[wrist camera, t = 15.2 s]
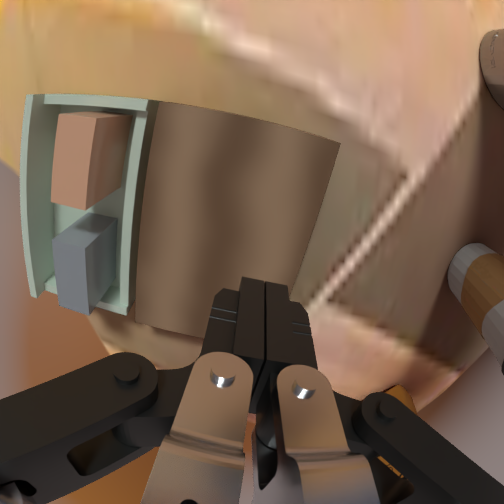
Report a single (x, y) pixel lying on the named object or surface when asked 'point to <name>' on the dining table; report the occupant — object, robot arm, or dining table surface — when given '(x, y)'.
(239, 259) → the grey brown flat block
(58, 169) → the terracotta tile
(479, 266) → the coffee cup
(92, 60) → the dining table surface
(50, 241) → the tray
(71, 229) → the slate tile
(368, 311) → the dining table surface
